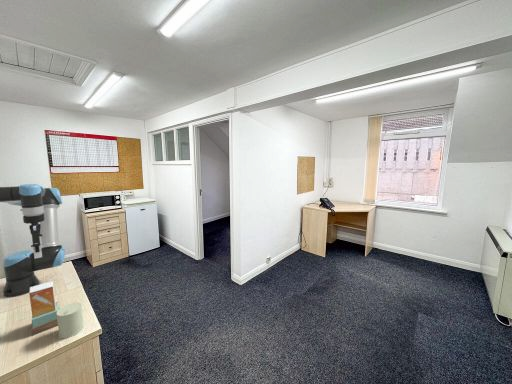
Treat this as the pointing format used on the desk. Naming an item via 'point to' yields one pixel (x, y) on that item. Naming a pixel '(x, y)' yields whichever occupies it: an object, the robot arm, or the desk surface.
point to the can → (70, 320)
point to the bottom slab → (44, 327)
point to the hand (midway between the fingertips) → (38, 253)
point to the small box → (42, 299)
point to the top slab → (45, 317)
